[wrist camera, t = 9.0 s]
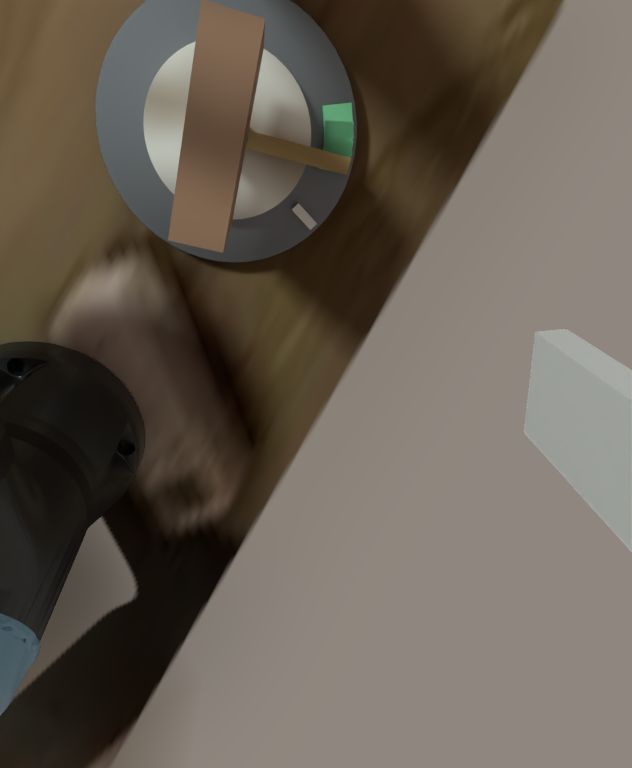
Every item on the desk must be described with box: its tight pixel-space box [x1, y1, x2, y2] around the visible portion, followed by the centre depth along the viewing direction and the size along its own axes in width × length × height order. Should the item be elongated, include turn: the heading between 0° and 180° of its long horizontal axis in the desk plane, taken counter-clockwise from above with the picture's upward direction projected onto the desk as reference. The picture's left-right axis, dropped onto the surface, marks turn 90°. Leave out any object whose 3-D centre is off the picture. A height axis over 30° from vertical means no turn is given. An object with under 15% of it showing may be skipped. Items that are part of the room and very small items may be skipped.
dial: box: [143, 0, 351, 253], centre depth 28 cm, size 10×12×13 cm
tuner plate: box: [95, 0, 357, 262], centre depth 35 cm, size 16×16×2 cm
